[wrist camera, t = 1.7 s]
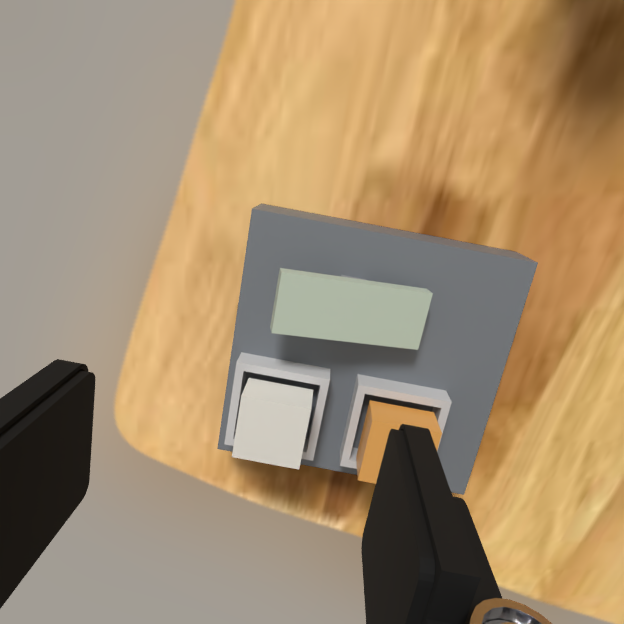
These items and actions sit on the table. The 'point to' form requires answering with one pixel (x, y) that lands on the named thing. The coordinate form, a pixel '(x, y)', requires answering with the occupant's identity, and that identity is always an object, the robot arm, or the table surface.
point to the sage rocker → (349, 309)
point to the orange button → (377, 432)
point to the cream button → (272, 423)
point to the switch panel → (374, 358)
